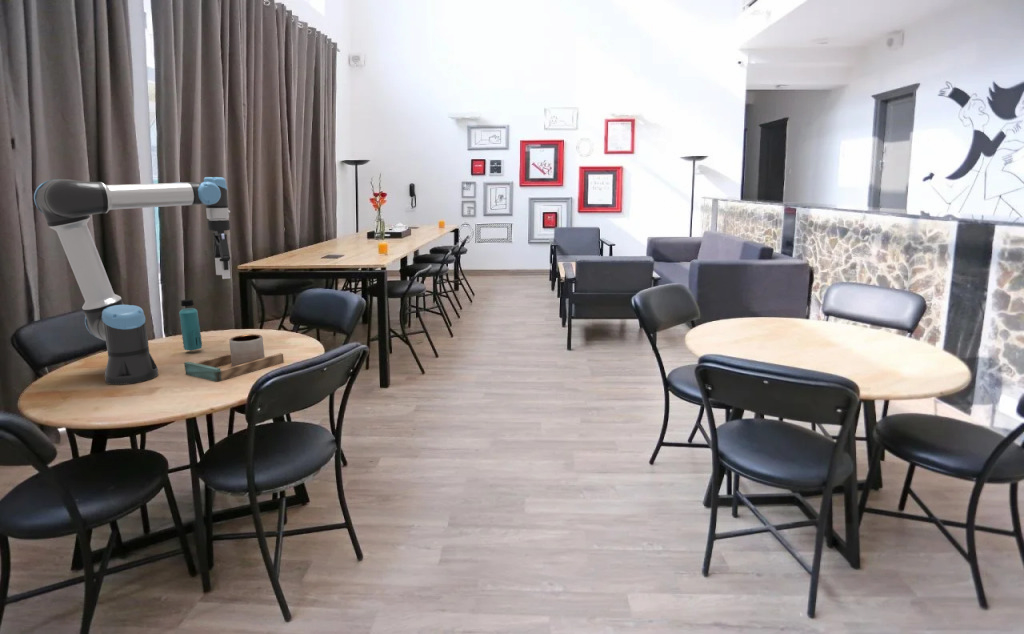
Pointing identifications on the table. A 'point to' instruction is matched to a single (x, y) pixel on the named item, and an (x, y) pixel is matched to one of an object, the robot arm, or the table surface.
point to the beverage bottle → (190, 326)
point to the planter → (246, 348)
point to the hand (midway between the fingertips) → (223, 276)
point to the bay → (210, 371)
